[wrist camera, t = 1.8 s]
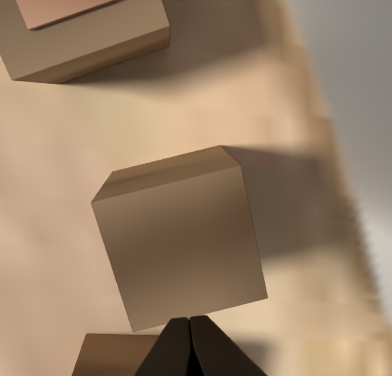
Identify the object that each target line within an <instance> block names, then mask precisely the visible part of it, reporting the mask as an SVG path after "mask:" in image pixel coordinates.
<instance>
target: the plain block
mask: <svg viewBox="0 0 392 376" xmlns="http://www.w3.org/2000/svg"><path fill="white" fill-rule="evenodd" d="M91 205H92V208H93V211H94V214H95V217H96V220H97V224H98V227H99V230H100V233H101V236H102V239H103V242H104V245H105V248H106V251H107V254H108V257H109V260H110V264H111V267H112V270H113V273H114V276H115V279H116V282H117V285H118V288H119V291H120V294H121V297H122V300H123V303H124V307H125V310H126V313H127V316H128V319H129V322H130V325H131V328H132V331H133V332H136V331H140V330H144V329H148V328H152V327H156V326H160V325H164V324H167V323H168V322H169V320H170V319H172V318H179V317H187V318H190V317H192V316H199V315H203V314H207V313H211V312H215V311H219V310H223V309H227V308H231V307H235V306H239V305H243V304H247V303H251V302H254V301H258V300H262V299H266V298H268V296H267V291H266V286H265V281H264V276H263V272H262V267H261V262H260V257H259V252H258V248H257V243H256V238H255V233H254V228H253V223H252V219H251V214H250V209H249V204H248V199H247V195H246V190H245V185H244V180H243V175H242V171H241V166H240V165H239V164H238V163H237V162H236V161H235V160H234V159H233V158H232V157H231V156H230V155H229V154H228V153H227V152H226V151H225V150H224V149H223V148H222V147H221V146H220V145H219V146H215V147H211V148H207V149H203V150H198V151H194V152H190V153H186V154H182V155H178V156H174V157H170V158H166V159H162V160H158V161H154V162H150V163H146V164H142V165H138V166H133V167H129V168H125V169H121V170H117V171H113V172H112V173H111V174H110V176H109V177H108V179H107V180H106V182H105V183H104V184H103V186H102V187H101V189H100V190H99V192H98V193H97V194H96V196H95V197H94V199H93V200H92V201H91Z"/></svg>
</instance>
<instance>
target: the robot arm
mask: <svg viewBox="0 0 392 376" xmlns="http://www.w3.org/2000/svg"><path fill="white" fill-rule="evenodd" d="M133 376H267V375H266V374H265V373H264V372H263V371H262V370H261V369H260V368H259V367H258V366H257V365H256V364H255V363H254V362H253V361H252V360H251V359H250V358H249V357H248V356H247V355H246V354H245V353H244V352H243V351H242V350H241V349H240V348H239V347H238V346H237V345H236V344H235V343H234V342H233V341H232V340H231V339H230V338H229V337H228V336H227V335H226V334H225V333H224V332H223V331H222V330H221V329H220V328H219V327H218V326H217V325H216V324H215V323H214V322H213V321H212V320H211V319H210V318H209V317H208V316H206V315H200V316H192V317H190V318H189V319H188V318H187V317H179V318H172V319H170V320H169V322H168V323H167V325H166V326H165V328H164V329H163V331H162V332H161V334H160V335H159V337H158V338H157V340H156V341H155V343H154V344H153V346H152V347H151V349H150V350H149V352H148V353H147V355H146V356H145V358H144V359H143V361H142V362H141V364H140V365H139V367H138V368H137V370H136V371H135V373H134V374H133Z"/></svg>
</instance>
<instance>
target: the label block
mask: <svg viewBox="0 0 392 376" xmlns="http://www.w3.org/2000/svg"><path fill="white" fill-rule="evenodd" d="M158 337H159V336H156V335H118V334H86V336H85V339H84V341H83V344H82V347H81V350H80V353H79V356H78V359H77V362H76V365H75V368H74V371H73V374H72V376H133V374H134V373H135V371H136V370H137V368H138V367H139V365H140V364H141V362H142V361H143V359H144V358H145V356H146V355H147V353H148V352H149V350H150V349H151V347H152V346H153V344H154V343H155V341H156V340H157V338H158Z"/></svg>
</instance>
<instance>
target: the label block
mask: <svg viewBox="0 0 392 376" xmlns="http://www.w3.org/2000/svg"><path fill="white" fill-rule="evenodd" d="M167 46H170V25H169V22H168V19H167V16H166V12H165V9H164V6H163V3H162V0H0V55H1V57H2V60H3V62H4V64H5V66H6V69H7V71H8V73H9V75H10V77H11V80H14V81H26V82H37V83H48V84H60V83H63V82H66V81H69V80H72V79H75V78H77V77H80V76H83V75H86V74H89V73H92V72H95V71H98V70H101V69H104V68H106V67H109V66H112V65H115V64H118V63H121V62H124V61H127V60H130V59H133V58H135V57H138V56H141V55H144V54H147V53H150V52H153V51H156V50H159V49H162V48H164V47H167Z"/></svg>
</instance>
